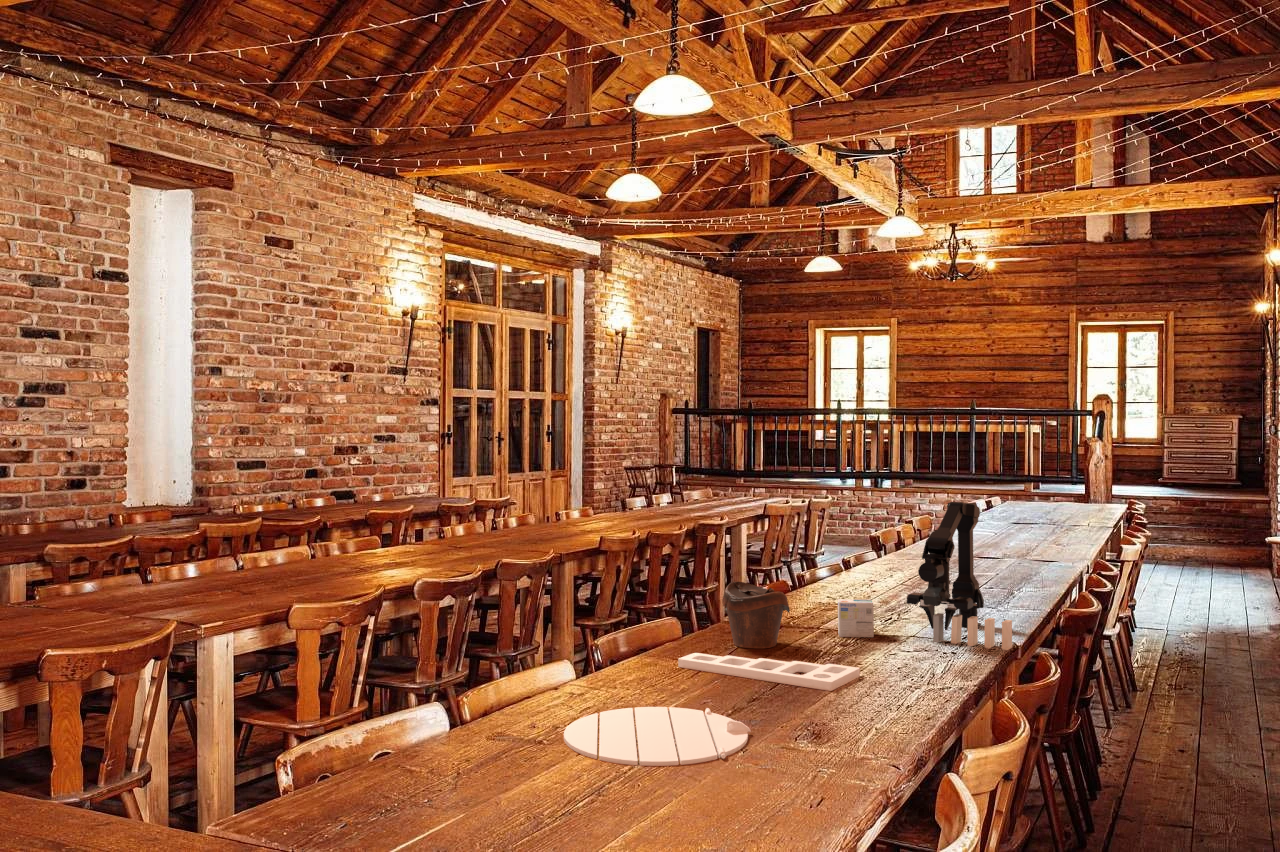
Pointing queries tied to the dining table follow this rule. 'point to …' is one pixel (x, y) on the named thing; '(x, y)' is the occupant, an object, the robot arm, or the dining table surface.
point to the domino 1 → (938, 627)
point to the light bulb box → (855, 618)
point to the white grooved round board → (656, 736)
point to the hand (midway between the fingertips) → (939, 629)
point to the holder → (774, 670)
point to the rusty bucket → (754, 614)
